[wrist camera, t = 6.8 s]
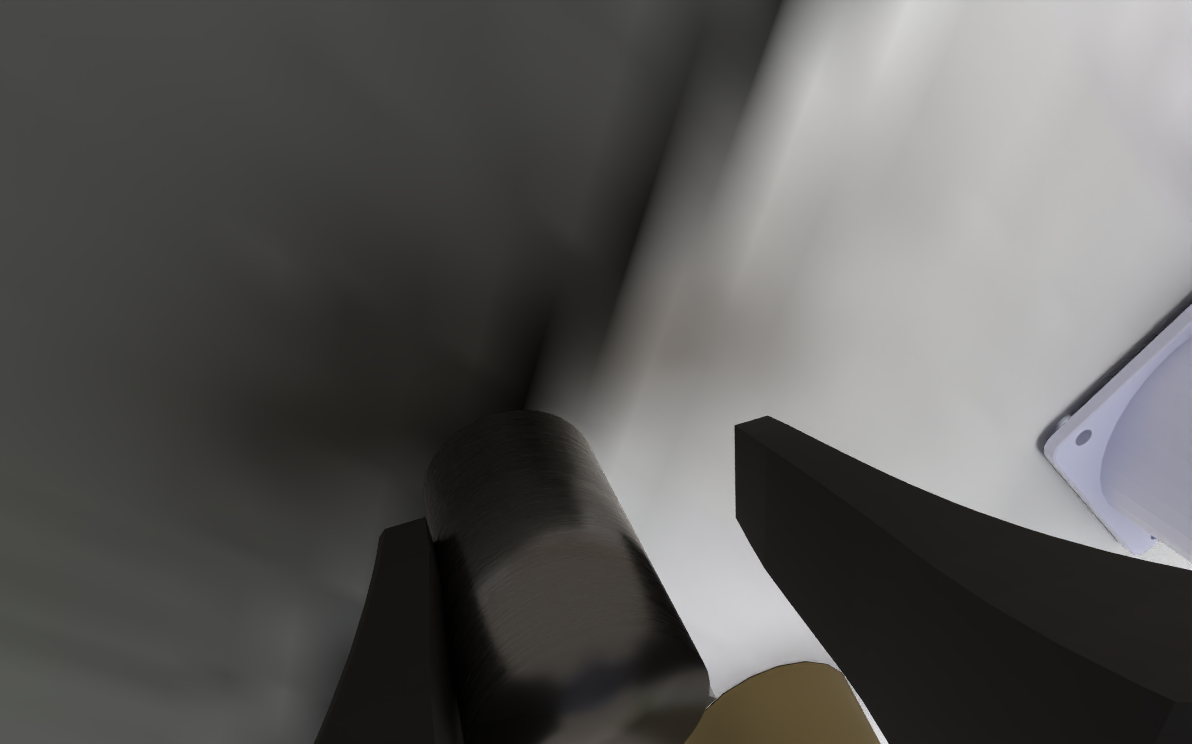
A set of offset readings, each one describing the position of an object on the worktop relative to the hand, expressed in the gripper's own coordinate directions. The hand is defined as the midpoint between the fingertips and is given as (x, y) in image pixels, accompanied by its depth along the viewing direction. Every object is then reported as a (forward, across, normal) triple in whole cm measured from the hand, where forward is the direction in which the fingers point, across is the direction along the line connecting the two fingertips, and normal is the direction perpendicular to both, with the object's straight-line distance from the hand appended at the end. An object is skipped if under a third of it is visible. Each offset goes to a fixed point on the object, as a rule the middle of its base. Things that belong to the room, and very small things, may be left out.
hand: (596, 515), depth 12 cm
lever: (+3, +2, +9) cm, 9 cm away
